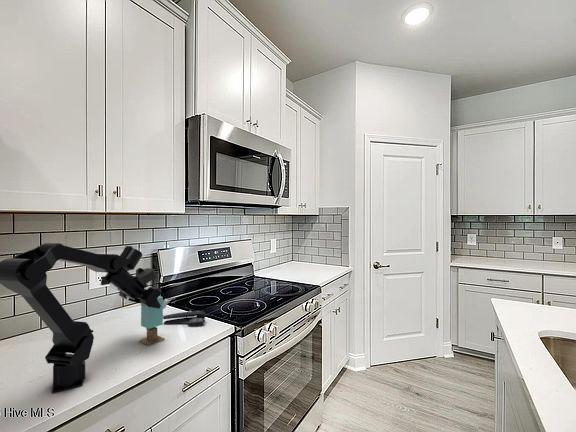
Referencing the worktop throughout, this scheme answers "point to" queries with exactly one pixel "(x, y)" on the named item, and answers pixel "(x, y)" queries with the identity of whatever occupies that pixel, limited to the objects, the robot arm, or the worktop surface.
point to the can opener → (187, 318)
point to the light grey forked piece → (165, 303)
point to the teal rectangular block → (152, 315)
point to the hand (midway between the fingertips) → (155, 305)
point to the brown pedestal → (151, 337)
